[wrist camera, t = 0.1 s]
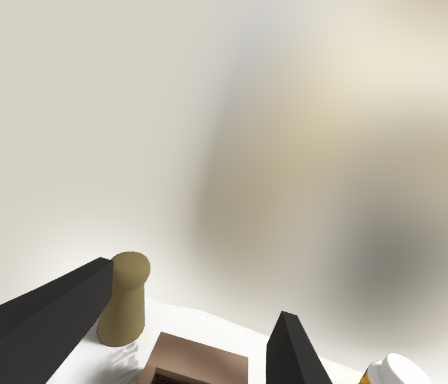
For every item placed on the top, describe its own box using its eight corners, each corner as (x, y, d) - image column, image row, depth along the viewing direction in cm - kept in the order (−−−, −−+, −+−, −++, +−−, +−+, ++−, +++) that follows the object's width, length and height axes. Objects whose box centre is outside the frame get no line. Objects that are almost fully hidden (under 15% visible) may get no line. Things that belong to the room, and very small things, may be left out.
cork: (89, 347, 26) (94, 273, 23) (105, 307, 32) (111, 243, 29) (140, 346, 28) (152, 276, 25) (147, 308, 33) (157, 247, 30)
